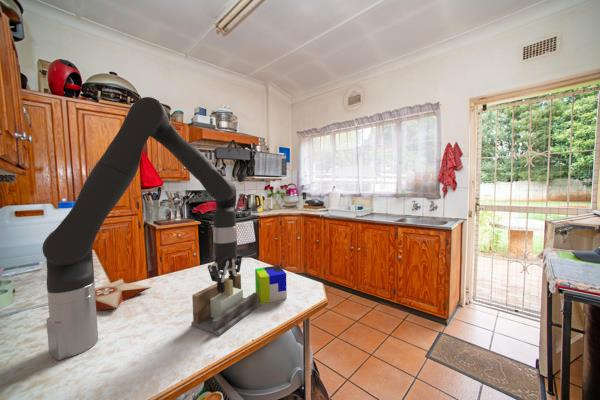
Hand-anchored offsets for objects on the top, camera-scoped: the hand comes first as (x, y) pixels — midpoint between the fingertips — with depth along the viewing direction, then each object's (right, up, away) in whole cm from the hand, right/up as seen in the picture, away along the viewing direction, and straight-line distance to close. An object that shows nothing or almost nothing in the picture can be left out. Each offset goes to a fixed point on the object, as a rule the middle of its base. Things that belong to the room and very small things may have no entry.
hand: (226, 288), depth 81 cm
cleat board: (+1, -9, 0) cm, 9 cm away
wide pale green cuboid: (0, -8, 0) cm, 8 cm away
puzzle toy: (+13, -8, +14) cm, 21 cm away
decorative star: (-50, -9, +11) cm, 52 cm away
